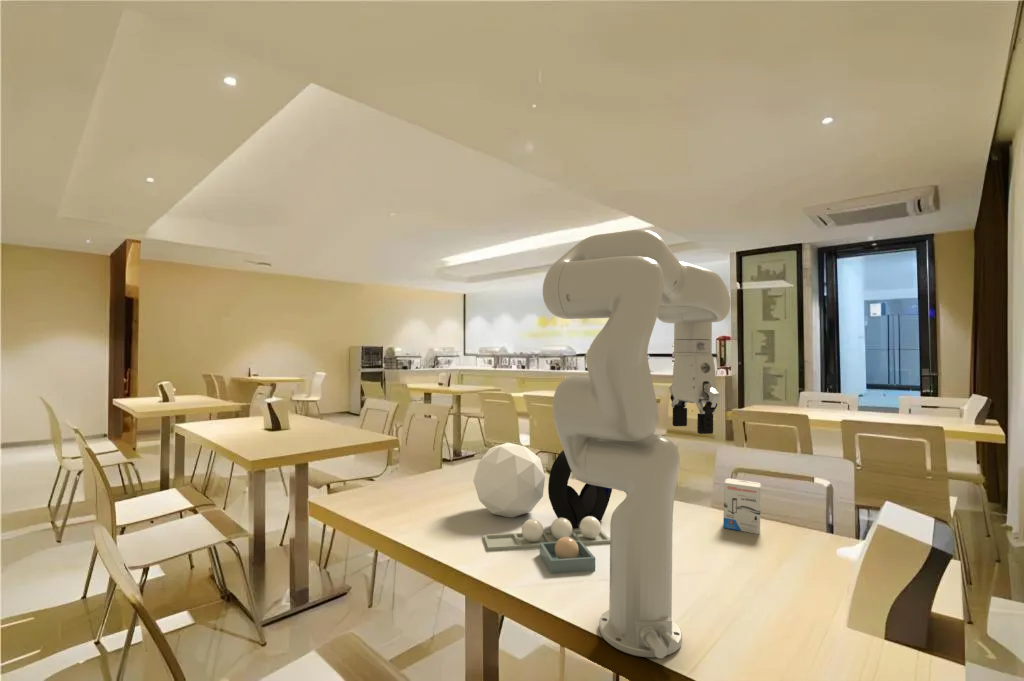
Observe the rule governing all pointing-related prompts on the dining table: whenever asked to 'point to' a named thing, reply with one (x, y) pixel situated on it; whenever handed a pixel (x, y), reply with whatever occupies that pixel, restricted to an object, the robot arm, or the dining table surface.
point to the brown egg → (566, 548)
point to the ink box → (742, 505)
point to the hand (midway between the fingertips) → (691, 429)
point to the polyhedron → (509, 480)
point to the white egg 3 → (590, 527)
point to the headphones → (575, 495)
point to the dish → (579, 564)
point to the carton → (520, 543)
